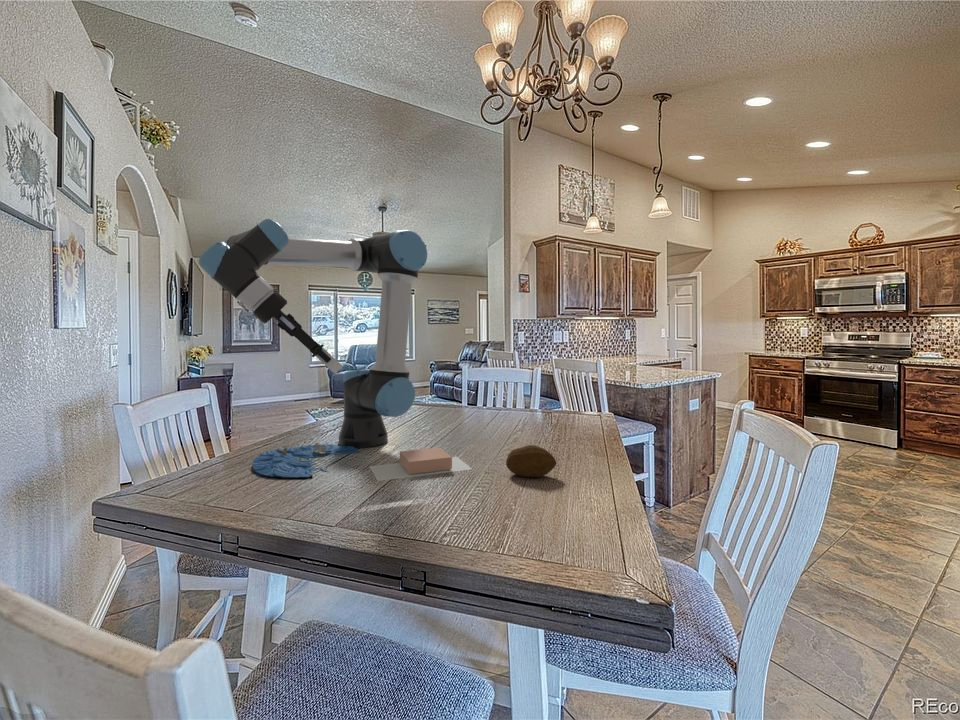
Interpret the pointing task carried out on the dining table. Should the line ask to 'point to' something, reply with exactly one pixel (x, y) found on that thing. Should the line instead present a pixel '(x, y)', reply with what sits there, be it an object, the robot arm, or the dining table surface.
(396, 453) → the dining table surface
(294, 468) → the decorative plate
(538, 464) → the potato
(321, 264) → the robot arm
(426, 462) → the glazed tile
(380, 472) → the grey rubber mat
